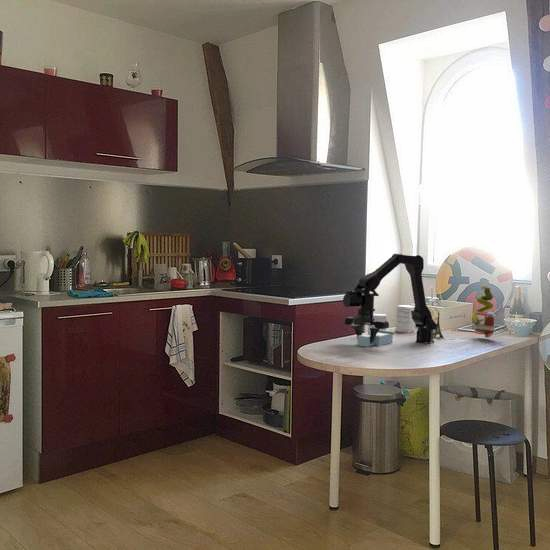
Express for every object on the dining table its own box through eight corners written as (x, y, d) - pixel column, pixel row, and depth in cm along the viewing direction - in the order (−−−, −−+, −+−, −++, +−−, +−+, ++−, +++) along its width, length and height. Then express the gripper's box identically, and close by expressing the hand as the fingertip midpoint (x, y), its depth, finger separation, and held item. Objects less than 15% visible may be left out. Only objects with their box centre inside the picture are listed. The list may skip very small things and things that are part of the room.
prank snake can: (465, 336, 304) (468, 284, 303) (482, 336, 308) (485, 284, 306) (482, 341, 294) (485, 287, 292) (499, 340, 298) (502, 287, 296)
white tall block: (401, 329, 321) (402, 304, 320) (415, 331, 317) (416, 306, 316) (394, 331, 315) (396, 305, 314) (409, 332, 311) (410, 307, 310)
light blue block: (373, 345, 273) (373, 335, 273) (367, 346, 269) (368, 337, 269) (362, 343, 276) (363, 334, 276) (357, 345, 272) (357, 335, 272)
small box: (384, 336, 298) (386, 314, 297) (385, 338, 292) (386, 315, 291) (367, 335, 299) (368, 313, 298) (368, 337, 293) (369, 314, 292)
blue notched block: (394, 342, 282) (395, 331, 282) (381, 346, 271) (382, 335, 271) (379, 340, 286) (380, 329, 286) (366, 344, 276) (366, 332, 275)
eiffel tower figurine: (416, 337, 301) (418, 309, 300) (428, 335, 308) (429, 308, 307) (444, 342, 290) (446, 313, 290) (456, 340, 297) (458, 311, 297)
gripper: (338, 305, 270) (336, 342, 271) (378, 310, 260) (376, 348, 261) (351, 303, 279) (349, 339, 281) (390, 308, 269) (388, 344, 270)
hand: (365, 342), depth 273 cm, fingers closed on light blue block, 5 cm apart
